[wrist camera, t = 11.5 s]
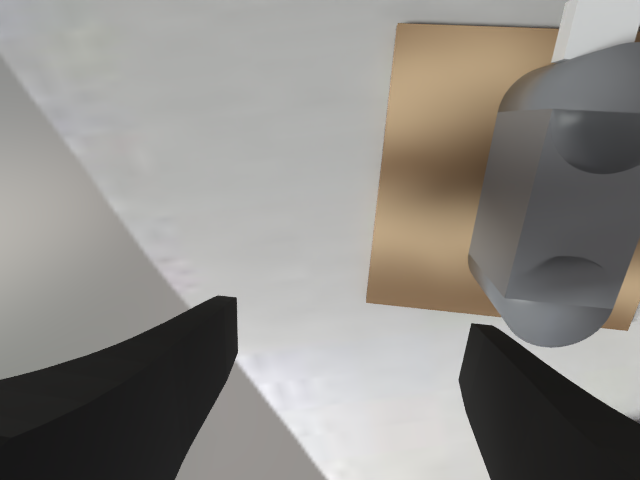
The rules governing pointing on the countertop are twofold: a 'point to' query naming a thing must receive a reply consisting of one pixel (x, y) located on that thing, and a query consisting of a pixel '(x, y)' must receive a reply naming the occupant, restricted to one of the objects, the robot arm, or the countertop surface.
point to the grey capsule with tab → (565, 181)
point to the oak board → (450, 163)
